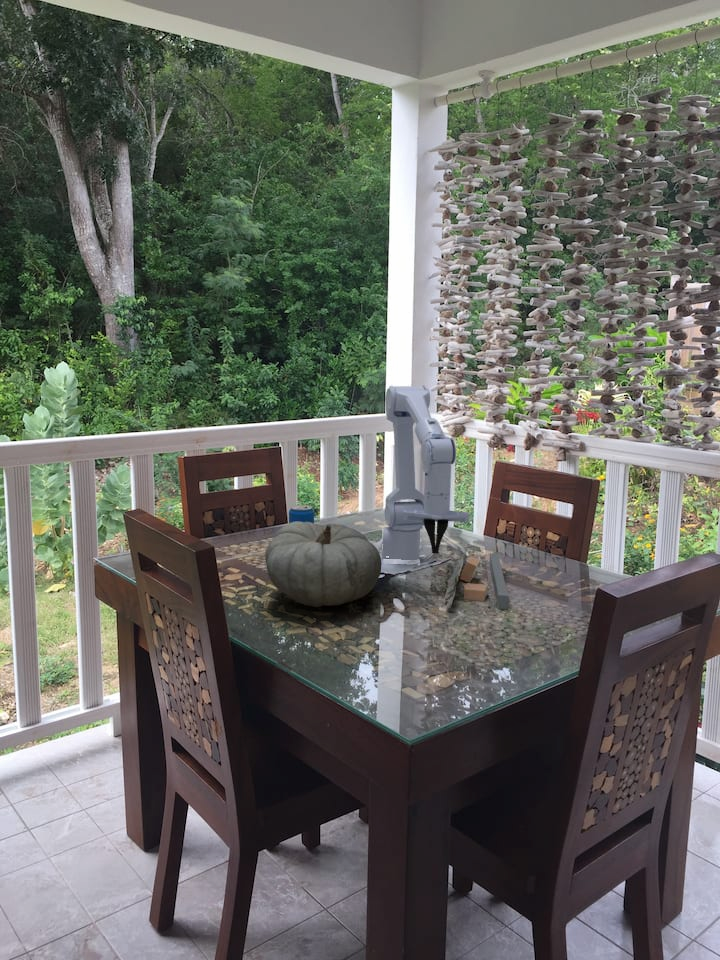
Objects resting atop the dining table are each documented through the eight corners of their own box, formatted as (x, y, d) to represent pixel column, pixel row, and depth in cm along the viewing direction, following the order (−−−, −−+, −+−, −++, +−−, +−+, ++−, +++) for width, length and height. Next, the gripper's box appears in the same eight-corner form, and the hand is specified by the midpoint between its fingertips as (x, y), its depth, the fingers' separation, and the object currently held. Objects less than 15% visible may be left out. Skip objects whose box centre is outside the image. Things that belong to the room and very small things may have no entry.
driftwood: (442, 614, 169) (462, 601, 168) (435, 604, 169) (455, 591, 168) (452, 565, 205) (469, 555, 204) (447, 557, 205) (463, 547, 204)
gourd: (298, 627, 160) (298, 541, 157) (242, 592, 180) (241, 515, 177) (401, 605, 174) (403, 525, 170) (339, 575, 194) (340, 503, 191)
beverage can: (318, 551, 214) (319, 506, 211) (304, 557, 208) (304, 511, 206) (298, 547, 217) (298, 503, 215) (283, 553, 212) (283, 507, 210)
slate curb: (497, 608, 172) (498, 595, 171) (489, 565, 203) (490, 553, 203) (507, 609, 172) (508, 595, 171) (497, 565, 203) (498, 554, 202)
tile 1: (463, 600, 178) (464, 589, 178) (466, 593, 182) (467, 583, 182) (484, 602, 177) (484, 591, 176) (486, 595, 181) (487, 584, 181)
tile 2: (469, 583, 189) (459, 578, 190) (473, 576, 193) (463, 572, 194) (476, 566, 188) (466, 561, 188) (480, 560, 192) (470, 555, 192)
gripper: (403, 495, 178) (401, 555, 180) (470, 497, 176) (468, 558, 179) (404, 488, 185) (403, 547, 187) (470, 491, 183) (467, 549, 186)
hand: (435, 552), depth 183 cm, fingers closed
